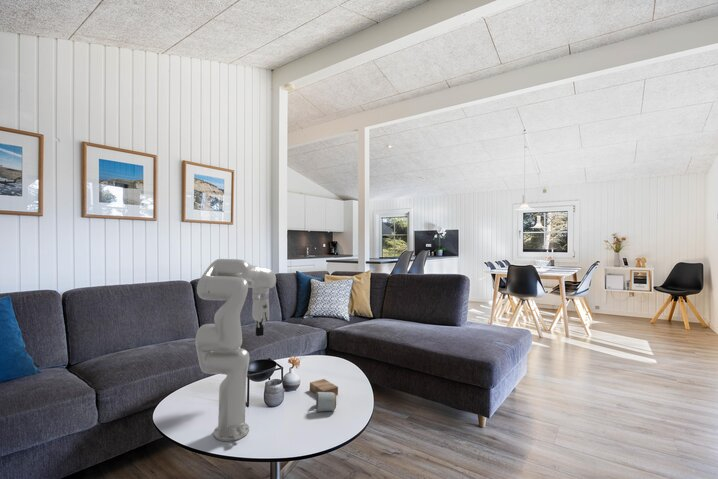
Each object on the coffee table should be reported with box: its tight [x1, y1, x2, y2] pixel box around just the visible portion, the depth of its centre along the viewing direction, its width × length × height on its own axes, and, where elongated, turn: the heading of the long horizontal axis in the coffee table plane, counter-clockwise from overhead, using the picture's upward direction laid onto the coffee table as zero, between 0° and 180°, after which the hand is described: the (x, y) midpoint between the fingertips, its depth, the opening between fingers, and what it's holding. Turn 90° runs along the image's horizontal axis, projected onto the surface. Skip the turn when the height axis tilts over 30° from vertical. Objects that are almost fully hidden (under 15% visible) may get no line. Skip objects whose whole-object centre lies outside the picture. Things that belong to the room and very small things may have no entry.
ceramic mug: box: [315, 392, 337, 412], centre depth 160 cm, size 11×8×8 cm
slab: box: [309, 378, 339, 396], centre depth 173 cm, size 4×8×12 cm
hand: (259, 335), depth 173 cm, fingers closed
